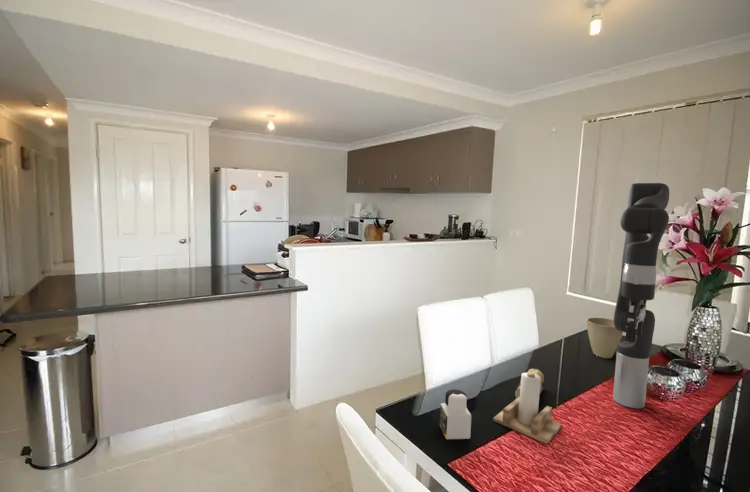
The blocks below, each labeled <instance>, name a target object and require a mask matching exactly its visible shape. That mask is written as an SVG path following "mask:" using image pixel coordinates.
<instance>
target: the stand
mask: <svg viewBox="0 0 750 492" xmlns="http://www.w3.org/2000/svg"><path fill="white" fill-rule="evenodd" d="M519 400H520V396H519V397H518V398H517V399H516V398H515V399H514V400H513V401H512V402H511V403H509V404H508V405H507V406H505V407H504V408H502V410H501V411H500V412H499V413H497V414H496V415H495V416H493V418H492V419H493V420H492V421H493V422H495V423H496V424H499V425H501V426H505V427H507V428H509V429H511V430H513V431H516V432H518V433H521V434H522V435H525V436H527V437H530V438H531V439H535V440H536V441H539V442H542V443H544V444H548V443H549V442H550V441H551V440H552V438H554V436H555V435H556V434H557V433H558V432H559V431H560V429H561V428H562V423H559V422H558V421H555V420H552V414H553V407H552V406H549V405H546V406H544V408H543V409H542V410H541V411H540V412H538V415H537V416H536V417H535V418H534V419H533V420H532V424H531V426H529V425H525V424H523V423H521V422H520V421H519V420H518V412H519Z"/></svg>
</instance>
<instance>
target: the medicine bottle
mask: <svg viewBox="0 0 750 492" xmlns="http://www.w3.org/2000/svg"><path fill="white" fill-rule="evenodd" d="M467 400H468V395H467V393H465V391H463V390H460V389H456V388H455V389H449V390H447V391H446V392H445V401H444V402H441V403H440V409H439V411H440V412H439V427H440V429H441V431H442V434H443V436H444V438H445V439H446V440H465V439H466V440H469V439H471V428H472V414H471V412H470V411H469V410H468V407H467V402H468V401H467Z"/></svg>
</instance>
